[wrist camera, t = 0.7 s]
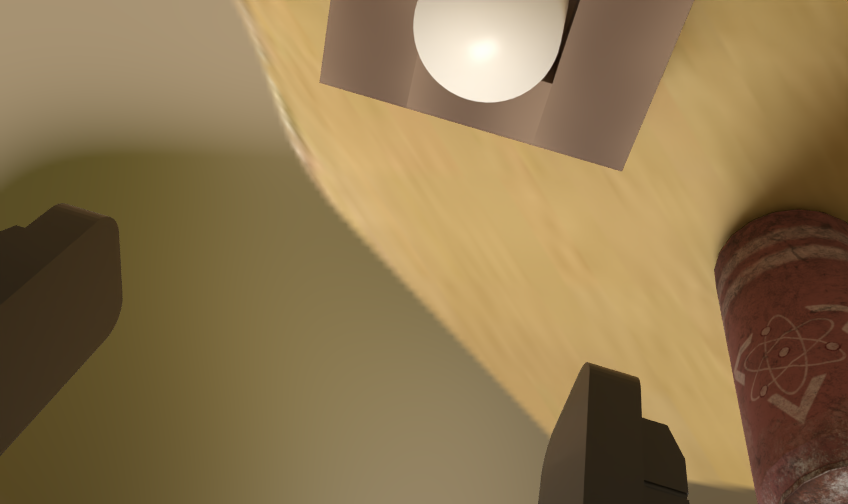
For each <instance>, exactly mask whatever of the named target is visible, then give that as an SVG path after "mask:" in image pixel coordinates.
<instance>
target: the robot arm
mask: <svg viewBox="0 0 848 504" xmlns="http://www.w3.org/2000/svg"><path fill="white" fill-rule="evenodd" d="M121 306H122V281H121V262H120V244H119V230H118V226H117V223H116V221H115V220H114V219H113V218H111V217H108V216H105V215H101V214H98V213H95V212H91V211H88V210H85V209H81V208H78V207H74V206H71V205H68V204H63V203H62V204H58V205H55V206H53V207H52V208H50V209H49V210H48V211H47V212H45V213H44V214H43V215H41V216H40V217H39V218H37V219H36V220H35V221H33V222H32V223H31V224H30V225H28V226H27V227H26V228H23V227H20V226H17V225H16V226H13V227H11V228H8V229H5V230H3V231H0V456H1V455H2V453H3V452H4V451H5V450H6V449H7V448H8V447H9V446H10V445H11V443H12V442H13V441H14V440H15V439H16V438H17V437H18V436H19V434H20V433H21V432H22V431H23V430H24V429H25V428H26V427H27V426H28V424H30V422H31V421H32V420H33V419H34V418H35V417H36V416H37V415H38V414H39V412H40V411H41V410H42V409H43V408H44V407H45V406H46V405H47V404H48V402H49V401H50V400H51V399H52V398H53V397H54V396H55V395H56V394H57V393H58V391H59V390H60V389H61V388H62V387H63V386H64V384H66V383H67V382H68V380H69V379H70V378H71V377H72V376H73V375H74V374H75V373H76V372H77V370H78V369H79V368H80V367H81V366H82V365H83V364H84V362H85V361H86V360H87V359H88V358H89V357H90V356H91V355H92V354H93V353H94V352H95V351H96V349H97V348H98V347H99V346H100V345H101V344H102V343H103V342H104V341H105V339H106V338H107V337H108V336H109V334H110V333H111V331H112V330H113V328H114V326H115V324H116V322H117V320H118V317H119V314H120V311H121ZM687 496H688V484H687V474H686V464H685V458H684V456H683V454H682V453H681V451H680V449H679V447H678V445H677V443H676V441H675V439H674V437H673V435H672V434H671V432H670V430H669V428H668V426H667V425H665V424H661V423H658V422H655V421H651V420H648V419H645V418H642V410H641V386H640V380H639V378H637V377H635V376H631V375H628V374H625V373H621V372H618V371H615V370H611V369H608V368H605V367H602V366H598V365H595V364H592V363H588V362H586V363H585V364H584V365H583V367H582V368H581V370H580V372H579V374H578V377H577V379H576V381H575V383H574V386H573V388H572V390H571V392H570V395H569V397H568V399H567V401H566V403H565V406H564V408H563V410H562V412H561V415H560V417H559V419H558V421H557V424H556V426H555V428H554V430H553V433H552V435H551V438H550V441H549V444H548V447H547V451H546V455H545V458H544V463H543V468H542V475H541V483H540V492H539V501H538V504H689V500H687Z"/></svg>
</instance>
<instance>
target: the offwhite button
mask: <svg viewBox="0 0 848 504" xmlns="http://www.w3.org/2000/svg"><path fill="white" fill-rule="evenodd" d="M568 4H569V0H418V1H417V5H416V8H415V13H414V21H413V31H414V40H415V44H416V48H417V51H418V54H419V56H420V59H421V60H422V62H423V64H424V66H425V68H426V69H427V70H428V72H429V73H430V75H431V76H432V77H433V78H434V79H435V80H436V81H437V82H438V83H439V84H440V85H442V86H443V87H444V88H445V89H447V90H448V91H450V92H452V93H453V94H455V95H457V96H459V97H462V98H465V99H468V100H472V101H476V102H486V103H487V102H500V101H506V100H509V99H513V98H515V97H518V96H520V95H522V94H524V93H525V92H527V91H529V90H530V89H532V88H533V87H534V86H535V85H537V84H538V83H539V82H540V81H541V80H542V79H543V78H544V77H545V75H546V74H547V73H548V71H549V70H550V68H551V67H552V65H553V63H554V61H555V59H556V56H557V54H558V51H559V47H560V43H561V39H562V34H563V29H564V24H565V19H566V15H567V10H568Z"/></svg>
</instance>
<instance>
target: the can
mask: <svg viewBox="0 0 848 504" xmlns="http://www.w3.org/2000/svg"><path fill="white" fill-rule="evenodd" d="M714 272H715V281H716V289H717V294H718V299H719V304H720V310H721V315H722V320H723V325H724V330H725V336H726V341H727V346H728V351H729V356H730V362H731V367H732V372H733V377H734V383H735V388H736V393H737V398H738V403H739V409H740V414H741V419H742V424H743V429H744V435H745V440H746V445H747V450H748V455H749V461H750V466H751V471H752V476H753V481H754V487H755V492H756V497H757V502H758V504H848V224H847V223H846V222H845V221H843V220H840V219H838V218H836V217H833V216H831V215H829V214H826V213H824V212H817V211H809V210H801V209H797V210H789V211H781V212H773V213H771V214H768V215H765V216H763V217H760V218H758V219H755V220H753V221H751V222H749V223H748V224H747V225H745V226H744V227H743V228H741V229H740V230H739V231H737V232H736V233H734V234H733V235H732V236H731V237H730V239H729V240H728V241H727V243H726V244H725V245H724V247H723V248H722V249H721V251H720V252H719V256H718V259H717V262H716V266H715V269H714Z"/></svg>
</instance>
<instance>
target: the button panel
mask: <svg viewBox="0 0 848 504" xmlns="http://www.w3.org/2000/svg"><path fill="white" fill-rule="evenodd" d="M417 1H418V0H331V1H330V9H329V16H328V23H327V31H326V38H325V46H324V53H323V61H322V68H321V76H320V83H322V84H326V85H329V86H333V87H336V88H339V89H343V90H346V91H350V92H353V93H356V94H360V95H363V96H367V97H370V98H373V99H377V100H380V101H384V102H387V103H391V104H394V105H397V106H401V107H404V108H408V109H411V110H414V111H418V112H421V113H425V114H428V115H431V116H435V117H438V118H442V119H445V120H448V121H452V122H455V123H459V124H462V125H465V126H469V127H472V128H476V129H479V130H482V131H486V132H489V133H493V134H496V135H500V136H503V137H506V138H510V139H513V140H517V141H520V142H523V143H527V144H530V145H534V146H537V147H540V148H544V149H547V150H551V151H554V152H557V153H561V154H564V155H568V156H571V157H574V158H578V159H581V160H585V161H588V162H591V163H595V164H598V165H602V166H605V167H608V168H612V169H615V170H619V171H622V170H623V168H624V165H625V163H626V161H627V158H628V156H629V153H630V151H631V149H632V146H633V144H634V142H635V139H636V137H637V135H638V132H639V130H640V127H641V125H642V123H643V120H644V118H645V116H646V113H647V111H648V108H649V106H650V104H651V101H652V99H653V97H654V94H655V92H656V89H657V87H658V85H659V82H660V80H661V78H662V75H663V73H664V70H665V68H666V66H667V63H668V61H669V59H670V56H671V54H672V51H673V49H674V47H675V44H676V42H677V40H678V37H679V35H680V32H681V30H682V28H683V25H684V23H685V21H686V18H687V16H688V14H689V11H690V9H691V6H692V4H693V2H694V0H569V4H568V10H567V15H566V19H565V24H564V29H563V34H562V39H561V43H560V47H559V51H558V54H557V56H556V59H555V61H554V63H553V65H552V67H551V68H550V70H549V71H548V73H547V74H546V75H545V77H544V78H543V79H542V80H541V81H540V82H539V83H538V84H537V85H535V86H534V87H533V88H532V89H530V90H529V91H527V92H525V93H524V94H522V95H520V96H518V97H515V98H513V99H509V100H506V101H500V102H487V103H486V102H476V101H472V100H468V99H465V98H462V97H459V96H457V95H455V94H453V93H452V92H450V91H448V90H447V89H445V88H444V87H443V86H442V85H440V84H439V83H438V82H437V81H436V80H435V79H434V78H433V77H432V76H431V75H430V73H429V72H428V70H427V69H426V68H425V66H424V64H423V62H422V60H421V59H420V56H419V54H418V51H417V48H416V44H415V40H414V31H413V21H414V13H415V8H416V5H417Z"/></svg>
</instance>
